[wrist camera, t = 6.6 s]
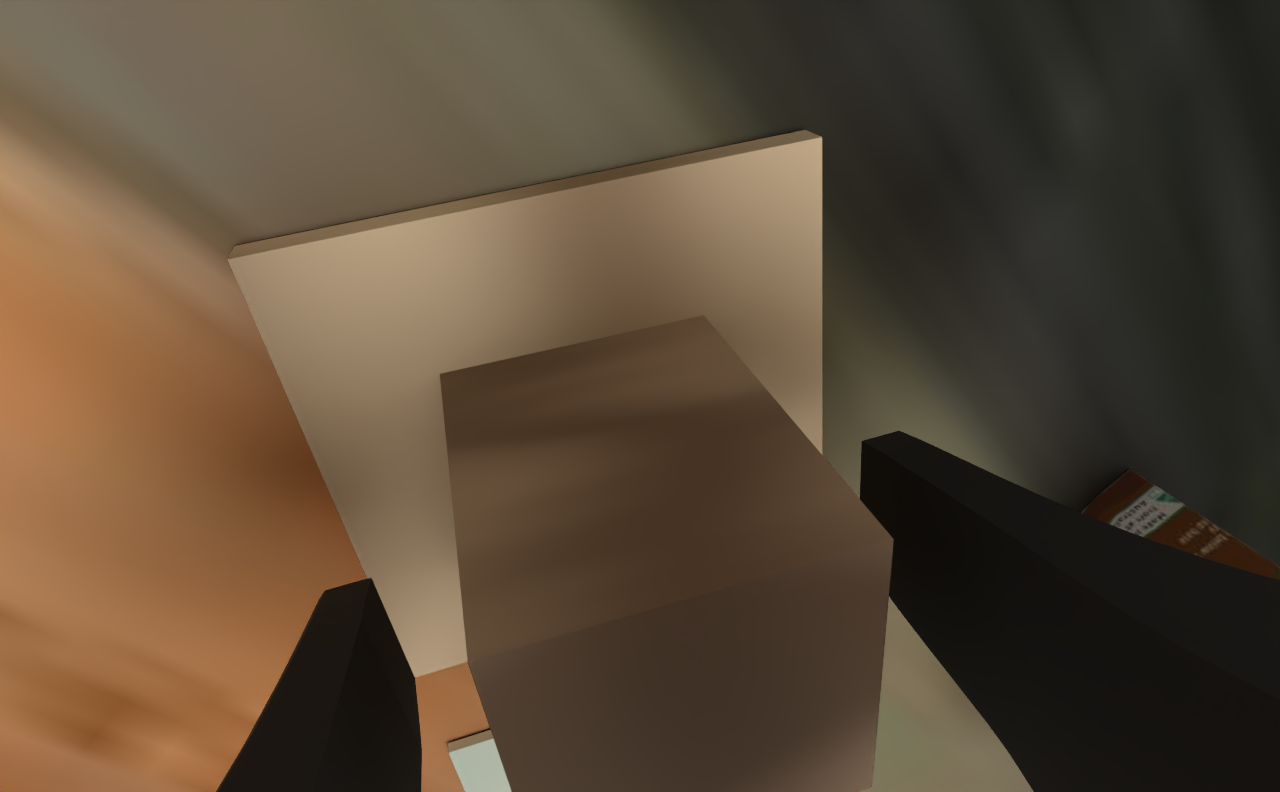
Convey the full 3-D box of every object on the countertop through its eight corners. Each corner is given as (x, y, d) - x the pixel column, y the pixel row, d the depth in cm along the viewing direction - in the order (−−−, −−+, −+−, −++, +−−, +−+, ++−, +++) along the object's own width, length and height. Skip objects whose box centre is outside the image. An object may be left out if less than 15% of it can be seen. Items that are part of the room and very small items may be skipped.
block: (496, 576, 15) (547, 899, 10) (439, 373, 12) (467, 662, 7) (718, 516, 15) (872, 787, 10) (703, 315, 13) (894, 539, 8)
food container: (909, 589, 19) (1303, 1078, 11) (1114, 434, 18) (1710, 834, 10) (1058, 758, 26) (1375, 1143, 17) (1215, 649, 25) (1624, 998, 17)
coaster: (410, 655, 16) (410, 678, 15) (235, 245, 11) (227, 259, 11) (810, 536, 17) (822, 554, 17) (804, 129, 13) (821, 137, 12)
